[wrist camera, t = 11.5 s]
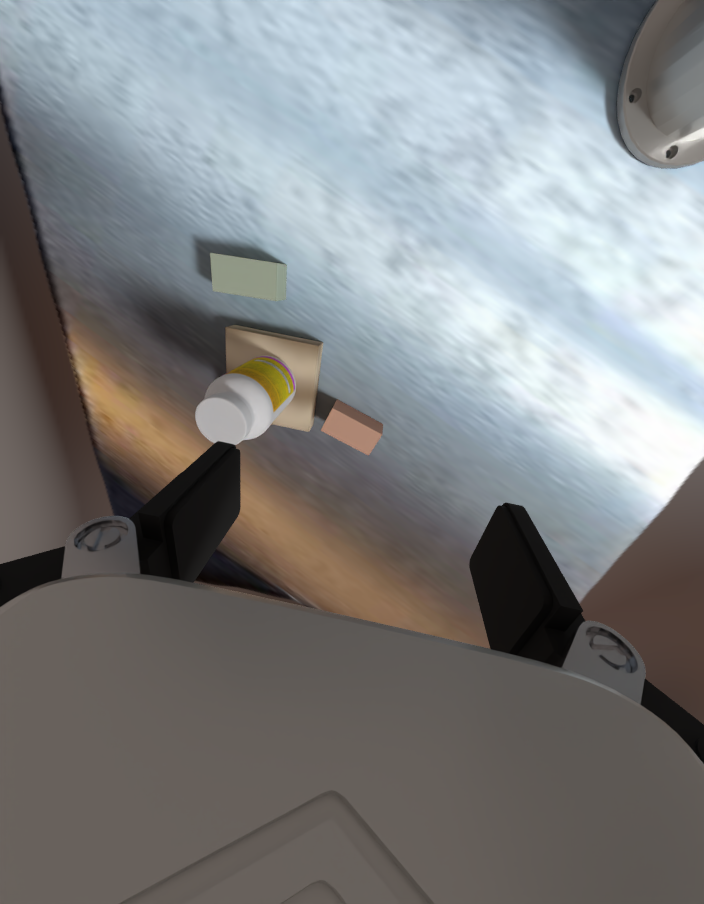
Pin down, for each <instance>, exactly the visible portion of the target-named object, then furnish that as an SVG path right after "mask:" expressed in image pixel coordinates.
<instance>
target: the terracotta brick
mask: <svg viewBox="0 0 704 904" xmlns="http://www.w3.org/2000/svg"><path fill="white" fill-rule="evenodd" d="M321 431H323V432H325V433H326V434H328V435H330V436H332V437H334V438H336V439H338V440H340V441H342V442H344V443H346V444H347V445H349V446H351V447H353V448H355V449H357V450H359V451H361V452H363V453H365V454H366V455H368V456H369V454H370V453H371V451H372V450H373V448H374V447H375V445H376V443H377V442H378V440H379V439H380V437H381V436H382V431H383V424H382V423H380V422H378V421H376V420H374V419H372V418H371V417H369V416H367V415H365V414H363V413H361V412H359V411H358V410H356V409H354V408H352V407H350V406H348V405H347V404H345V403H343V402H341V401H339V400H336V402H335V404H334V406H333V408H332V410H331V412H330V413H329V415H328V417H327V419H326V421H325V423H324V425H323V427H322V429H321Z"/></svg>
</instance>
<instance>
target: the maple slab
mask: <svg viewBox="0 0 704 904" xmlns="http://www.w3.org/2000/svg"><path fill="white" fill-rule="evenodd" d="M225 330H226V372H227V373H228V372H230V371H231V370H233V369H235V368H237V367H239V366H241V365H242V364H244V363H246V362H248V361H249V360H251V359H253V358H255V357H258V356H264V355H267V356H273V357H276V358H278V359H280V360H282V361H283V362H284V363H286V364H287V365H288V367H289V368H290V369H291V371H292V372H293V374H294V377H295V381H296V392H295V395H294V397H293V399H292V401H291V402H290V403H289V404H288V405H287V407H286V408H285V409H284V410H283V411H282V412H281V414H280V415H279V416H278V417H277V418H276V419H275V420H274V422H273V423H272V424H274V425H279V426H283V427H288V428H293V429H298V430H303V431H308V432H309V431H310V429H311V427H312V426H313V422H314V414H315V405H316V397H317V389H318V381H319V373H320V364H321V356H322V348H323V342H318V341H313V340H308V339H303V338H298V337H293V336H288V335H283V334H278V333H273V332H269V331H264V330H259V329H254V328H249V327H244V326H239V325H232V326H228V327H225Z"/></svg>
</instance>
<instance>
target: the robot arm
mask: <svg viewBox="0 0 704 904" xmlns="http://www.w3.org/2000/svg"><path fill="white" fill-rule="evenodd" d="M629 98H631V102H629ZM617 118H618V124H619V128H620V132H621V136H622V138H623V140H624V142H625V144H626V146H627V148H628V149H629V150H630V151H631V152H632V154H633V155H634V156H635V157H636V158H637V159H639V160H640V161H642V162H644V163H646V164H647V165H650V166H654V167H658V168H661V169H676V168H681V167H686V166H690V165H694V164H696V163H699V162H702V161H704V0H656V2H655V3H654V5H653V6H652V7H651V9H650V10H649V12H648V13H647V15H646V17H645V18H644V20H643V22H642V24H641V26H640V28H639V29H638V31H637V33H636V35H635V37H634V39H633V41H632V44H631V46H630V49H629V51H628V54H627V56H626V59H625V62H624V66H623V70H622V73H621V77H620V81H619V88H618V96H617ZM666 153H667V156H666ZM239 512H240V450H239V449H236V446H235V445H234V444H230V443H226V442H221V441H217V442H216V443H215V444H214V445H212V446H211V447H210V448H209V449H208V450H207V451H206V452H205V453H203V454H202V455H201V456H200V457H199V458H198V459H197V460H196V461H195V462H193V463H192V464H191V465H190V466H189V467H188V468H187V469H186V470H185V471H183V472H182V473H180V474H179V475H178V476H177V477H176V478H175V479H173V480H172V481H171V482H170V483H169V484H168V485H167V486H166V487H165V488H163V489H162V490H161V491H160V492H159V493H158V494H157V495H156V496H154V497H153V498H152V499H151V500H150V501H149V502H148V503H147V504H145V505H144V506H143V507H142V508H141V509H140V510H139V511H138V512H136V513H135V514H134V515H133V516H132V517H131V518H130V519H128V518H125V517H121V516H108V517H101V518H98V519H94V520H91V521H89V522H87V523H85V524H83V525H81V526H80V527H78V528H77V529H75V530H74V531H73V532H72V533H71V534H70V535H69V537H68V539H67V541H66V545H65V547H61V548H57V549H53V550H50V551H46V552H43V553H39V554H35V555H32V556H28V557H24V558H21V559H17V560H14V561H10V562H7V563H3V564H0V904H704V725H703V724H702V723H701V722H699V721H698V720H697V719H696V718H694V717H693V716H692V715H691V714H689V713H688V712H687V711H685V710H684V709H683V708H682V707H680V706H679V705H678V704H677V703H675V702H674V701H673V700H671V699H670V698H669V697H668V696H666V695H665V694H664V693H663V692H661V691H660V690H659V689H657V688H656V687H655V686H654V685H652V684H651V683H650V682H648V681H647V680H646V679H645V674H646V673H645V665H644V663H643V661H642V659H641V657H640V655H639V654H638V652H637V651H636V650H635V648H634V647H633V646H632V645H631V644H630V643H629V642H628V641H627V640H626V639H625V638H624V637H622V636H621V635H620V634H618V633H617V632H616V631H615V630H613V629H611V628H610V627H608V626H606V625H604V624H601V623H598V622H594V621H585V620H584V618H583V616H582V614H581V613H582V612H583V610H582V608H581V606H580V604H579V602H578V601H577V599H576V597H575V595H574V594H573V592H572V590H571V588H570V587H569V585H568V583H567V581H566V580H565V578H564V576H563V574H562V573H561V571H560V569H559V567H558V566H557V564H556V562H555V560H554V559H553V557H552V555H551V553H550V552H549V550H548V548H547V546H546V545H545V543H544V541H543V539H542V538H541V536H540V534H539V532H538V531H537V529H536V527H535V525H534V524H533V522H532V520H531V518H530V517H529V515H528V513H527V511H526V510H525V508H524V507H523V506H519V505H515V504H510V503H504V504H503V505H502V506H498V507H497V508H496V510H495V512H494V514H493V515H492V517H491V519H490V521H489V523H488V525H487V527H486V529H485V531H484V533H483V535H482V537H481V539H480V541H479V543H478V545H477V547H476V549H475V550H474V552H473V554H472V556H471V559H470V571H471V575H472V579H473V583H474V586H475V590H476V594H477V598H478V602H479V606H480V610H481V614H482V617H483V621H484V625H485V629H486V633H487V637H488V641H489V644H490V648H491V649H488V648H484V647H480V646H475V645H471V644H467V643H462V642H458V641H454V640H449V639H445V638H441V637H436V636H432V635H428V634H424V633H419V632H415V631H411V630H406V629H402V628H397V627H393V626H389V625H384V624H380V623H375V622H371V621H367V620H362V619H358V618H353V617H349V616H344V615H340V614H335V613H331V612H327V611H322V610H318V609H313V608H309V607H304V606H299V605H295V604H291V603H286V602H281V601H277V600H272V599H267V598H263V597H258V596H254V595H249V594H244V593H240V592H236V591H231V590H227V589H222V588H217V587H211V586H207V585H202V584H197V583H193V582H194V581H195V579H196V578H197V576H198V575H199V573H200V572H201V570H202V569H203V567H204V566H205V564H206V563H207V561H208V560H209V558H210V557H211V555H212V554H213V553H214V551H215V550H216V548H217V547H218V545H219V544H220V542H221V541H222V539H223V538H224V536H225V535H226V533H227V532H228V530H229V529H230V527H231V526H232V524H233V523H234V521H235V520H236V518H237V517H238V515H239Z"/></svg>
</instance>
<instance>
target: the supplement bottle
mask: <svg viewBox="0 0 704 904" xmlns="http://www.w3.org/2000/svg"><path fill="white" fill-rule="evenodd" d="M295 392H296V381H295V377H294V374H293V372H292V371H291V369H290V368H289V367H288V365H287V364H286V363H284V362H283V361H282V360H280V359H278V358H276V357H273V356H267V355H264V356H258V357H255V358H253V359H251V360H249V361H248V362H246V363H244V364H242V365H241V366H239V367H237V368H235V369H233V370H231V371H230V372H228V373H226V374H224V375H222V376H220V377H219V378H217V379H216V380H214V381H213V382H212V383H211V384H210V386H209V387H208V389H207V391H206V394H205V399H204V400H203V401H201V402H200V404H199V405H198V406H197V409H196V412H195V419H196V423H197V426H198V428H199V430H200V431H201V433H202V434H203V435H204V436H205V437H206V438H207V439H208V440H210V441H211V442H213V443H216V442H217V441H221V442H226V443H230V444H234V445H236V444H238V443H240V442H241V441H242V440H248V439H253V438H256V437H258V436H260V435H261V434H263V433H264V432H265V431H266V430H267V429H268V427H269V426H270V425H271V424H272V423H273V422H274V420H275V419H276V418H277V417H278V416H279V415H280V414H281V412H282V411H283V410H284V409H285V408H286V407H287V405H288V404H289V403H290V402H291V401H292V399H293V397H294V395H295Z"/></svg>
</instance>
